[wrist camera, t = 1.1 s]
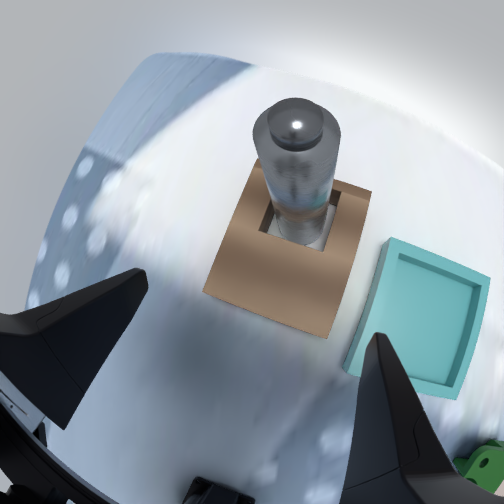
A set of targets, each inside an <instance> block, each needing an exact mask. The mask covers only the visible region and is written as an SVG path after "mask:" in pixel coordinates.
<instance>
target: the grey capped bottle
mask: <svg viewBox="0 0 504 504" xmlns="http://www.w3.org/2000/svg"><path fill="white" fill-rule="evenodd" d="M340 138H341V132H340V127H339V124H338V122H337V120H336V119H335V118H334V116H333V115H332V114H331V113H330V112H329V111H327V110H326V109H325V108H323V107H321V106H319V105H317V104H315V103H313V102H312V101H309V100H307V99H303V98H288V99H284V100H281V101H279V102H277V103H276V104H274V105H273V106H271V107H270V108H268V109H267V110H265V111H264V112H263V113H262V114H261V115H260V116H259V117H258V119H257V120H256V122H255V125H254V128H253V140H254V144H255V147H256V150H257V154H258V157H259V160H260V163H261V167H262V170H263V173H264V177H265V180H266V184H267V187H268V190H269V194H270V197H271V201H272V204H273V208H274V211H275V215H276V218H277V222H278V225H279V229H280V232H281V234H282V235H283V237H284V238H285V239H286V240H288V241H291V242H294V243H297V244H300V245H307V244H310V243H313V242H314V241H316V240H317V239H318V238H319V237H320V235H321V234H322V232H323V229H324V224H325V219H326V215H327V210H328V205H329V200H330V195H331V190H332V184H333V179H334V174H335V168H336V162H337V156H338V150H339V144H340Z"/></svg>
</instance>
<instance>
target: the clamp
mask: <svg viewBox="0 0 504 504" xmlns="http://www.w3.org/2000/svg"><path fill="white" fill-rule="evenodd" d="M453 463H454V464H455V466H456V468H457V469H458V471H459V472H460V474H461V475H462V477H463V478H465V479H467V480H469V481H470V482H472V483H474V484H476V485H478V486H479V487H481V488H483V489H485V490H487V491H489V492H491V493H493V494H494V493H495V491H496V490H497V488H498V487H499V486H500V484H501V483H502V481H503V480H504V441H498V440H490V441H488V442H487V443H486V444H485V445H484V446H481V447H479V448H478V449H476V450H475V451H474V452H473V454H472V455H471V456H470V458H469V459H463V458H456V457H455V459H454V461H453Z"/></svg>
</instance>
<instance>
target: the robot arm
mask: <svg viewBox="0 0 504 504" xmlns="http://www.w3.org/2000/svg"><path fill="white" fill-rule="evenodd" d="M147 291H148V281H147V276H146V272H145V271H144V270H143V269H140V268H133V269H131V270H128V271H126V272H123V273H121V274H118V275H115V276H113V277H110V278H108V279H105V280H103V281H100V282H98V283H95V284H93V285H91V286H88V287H86V288H83V289H81V290H78V291H76V292H73V293H71V294H69V295H66V296H65V297H61V298H59V299H57V300H54V301H52V302H49V303H47V304H44V305H41V306H38V307H35V308H32V309H29V310H26V311H23V312H20V313H18V314H13V315H8V314H2V313H0V468H1V470H2V471H3V472H4V473H5V475H6V476H7V477H8V478H9V479H10V481H11V482H12V483H13V485H11V486H10V487H9V489H8V491H7V492H6V493H3V492H1V491H0V504H66V502H67V501H68V499H70V500H71V501H73V502H74V503H75V504H119V503H117V502H116V501H114V500H113V499H111V498H109V497H108V496H106V495H105V494H103V493H102V492H100V491H99V490H98V489H96V488H95V487H93V486H92V485H91V484H89V483H88V482H87V481H85V480H84V479H83V478H81V477H80V476H79V475H77V474H76V473H75V472H74V471H72V470H71V469H70V468H69V467H68V466H66V465H65V464H64V463H63V462H62V461H60V460H59V459H58V458H57V457H56V456H55V455H54V454H53V453H52V452H50V451H49V450H48V449H47V441H46V433H45V424H44V423H43V422H42V421H43V419H44V418H45V417H46V416H47V417H48V418H49V419H50V420H51V421H53V422H54V423H55V424H56V425H57V426H59V427H60V428H61V429H62V430H65V428H66V427H67V425H68V423H69V421H70V419H71V418H72V416H73V414H74V412H75V410H76V409H77V407H78V405H79V403H80V402H81V400H82V398H83V397H84V395H85V393H86V391H87V390H88V388H89V386H90V385H91V383H92V381H93V380H94V378H95V376H96V375H97V373H98V371H99V370H100V368H101V367H102V365H103V363H104V362H105V360H106V359H107V357H108V355H109V354H110V352H111V351H112V349H113V348H114V346H115V344H116V343H117V341H118V340H119V338H120V337H121V335H122V334H123V332H124V331H125V329H126V328H127V326H128V325H129V323H130V322H131V320H132V318H133V317H134V315H135V313H136V311H137V309H138V307H139V305H140V304H141V302H142V300H143V298H144V296H145V294H146V293H147ZM423 409H424V408H423V406H422V404H421V402H420V400H419V398H418V395H417V393H416V391H415V389H414V387H413V385H412V383H411V381H410V379H409V377H408V375H407V373H406V371H405V369H404V367H403V365H402V363H401V361H400V359H399V357H398V355H397V353H396V351H395V349H394V347H393V346H392V344H391V342H390V340H389V338H388V336H387V335H386V334H385V333H381V332H375V333H374V334H373V336H372V338H371V340H370V341H369V343H368V345H367V347H366V350H365V355H364V361H363V367H362V372H361V377H360V382H359V388H358V395H357V405H356V414H355V422H354V430H353V437H352V443H351V450H350V455H349V461H348V466H347V472H346V477H345V481H344V486H343V491H342V494H341V498H340V502H339V504H504V497H501V496H497V495H495V494H493V493H491V492H489V491H487V490H485V489H483V488H481V487H479V486H478V485H476V484H474V483H472V482H470V481H469V480H467V479H465V478H463V477H462V476H461V475H459V474H458V473H457V471H456V470H455V469H454V467H453V466H452V464H451V462H450V460H449V458H448V456H447V454H446V453H445V451H444V449H443V447H442V445H441V443H440V442H439V440H438V438H437V436H436V434H435V432H434V430H433V428H432V426H431V424H430V421H429V419H428V417H427V415H426V413H425V411H424V410H423ZM197 480H198V481H200V482H198V481H197ZM250 502H251V503H250ZM182 504H255V500H254V499H253V498H250V497H247V496H244V495H241V494H239V493H236V492H233V491H231V490H228V489H226V488H223V487H221V486H219V485H216V484H214V483H212V482H209V481H207V480H205V479H203V478H200V477H196V478H195V479H194V480H193V482H192V484H191V486H190V489H189V491H188V493H187V495H186V497H185V499H184V501H183V503H182Z"/></svg>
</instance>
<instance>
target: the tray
mask: <svg viewBox="0 0 504 504" xmlns="http://www.w3.org/2000/svg"><path fill="white" fill-rule="evenodd" d="M489 285H490V277H488V276H485V275H483V274H481V273H479V272H477V271H474V270H472V269H470V268H467V267H465V266H463V265H461V264H458V263H456V262H453V261H451V260H449V259H446V258H444V257H441V256H439V255H437V254H434V253H432V252H429V251H427V250H424V249H422V248H419V247H416V246H414V245H411V244H409V243H406V242H403V241H401V240H398V239H395V238H393V237H390V238H389V239H388V240H387V241H386V242H385V243H384V244H383V246H382V250H381V254H380V258H379V261H378V265H377V269H376V272H375V276H374V279H373V282H372V286H371V289H370V292H369V296H368V299H367V302H366V305H365V308H364V311H363V314H362V317H361V320H360V323H359V325H358V328H357V331H356V334H355V336H354V339H353V342H352V344H351V347H350V350H349V352H348V355H347V357H346V360H345V362H344V364H343V367H342V368H343V369H344V370H345V372H346V373H347V374H351V375H354V376H357V377H361V372H362V367H363V361H364V355H365V350H366V347H367V345H368V343H369V341H370V340H371V338H372V336H373V334H374V333H375V332H381V333H385V334H386V335H387V336H388V338H389V340H390V342H391V344H392V346H393V347H394V349H395V351H396V353H397V355H398V357H399V359H400V361H401V363H402V365H403V367H404V369H405V371H406V373H407V375H408V377H409V379H410V381H411V383H412V385H413V387H414V389H415V391H416V392H418V393H423V394H427V395H432V396H437V397H442V398H447V399H452V400H456V399H457V397H458V394H459V392H460V389H461V387H462V384H463V382H464V379H465V376H466V374H467V371H468V368H469V365H470V362H471V359H472V356H473V353H474V350H475V346H476V343H477V339H478V336H479V332H480V328H481V324H482V320H483V316H484V311H485V306H486V302H487V296H488V291H489Z"/></svg>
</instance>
